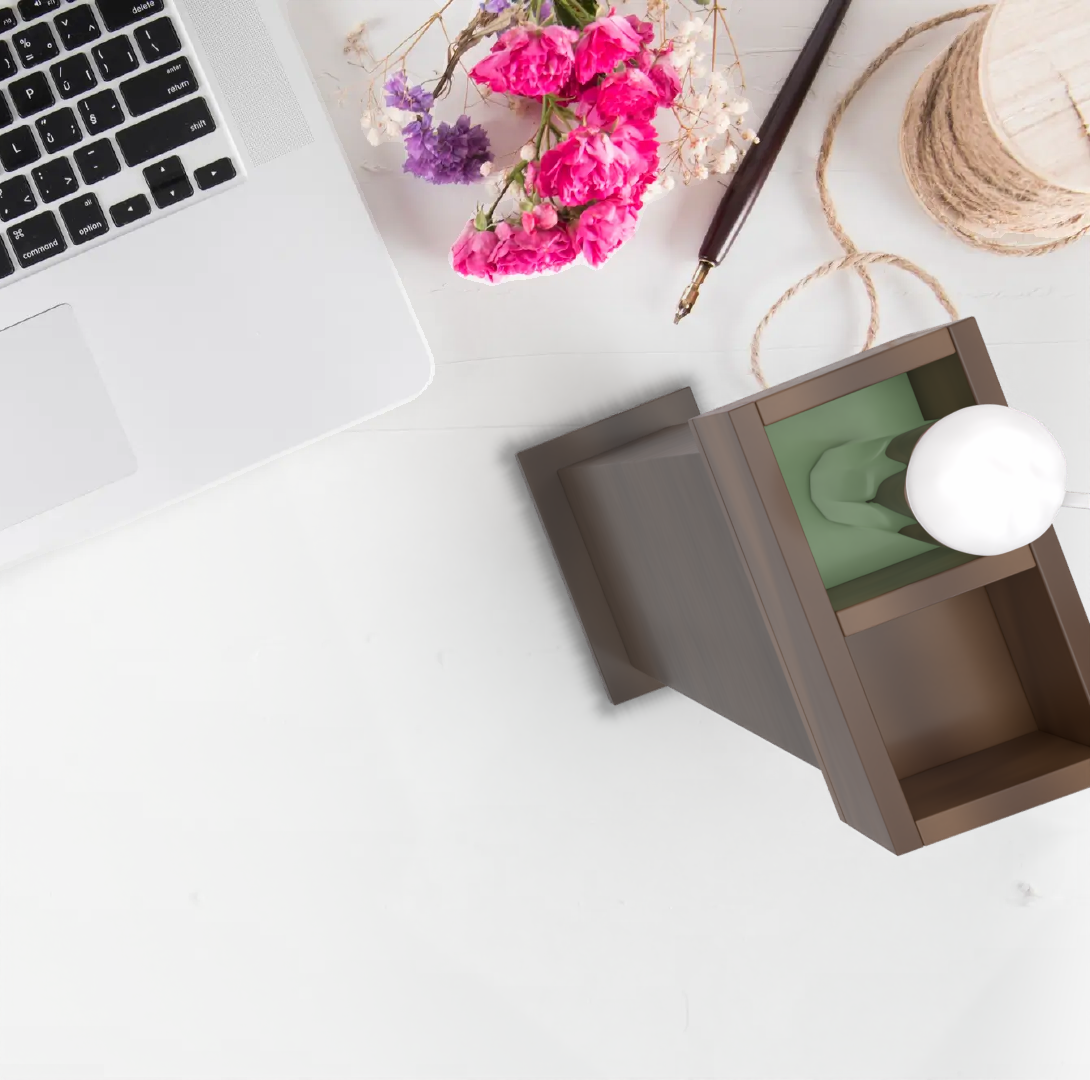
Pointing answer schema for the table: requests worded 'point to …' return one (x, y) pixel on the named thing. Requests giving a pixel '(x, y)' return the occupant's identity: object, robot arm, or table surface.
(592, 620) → the stand
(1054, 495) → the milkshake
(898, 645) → the box
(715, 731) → the table surface
